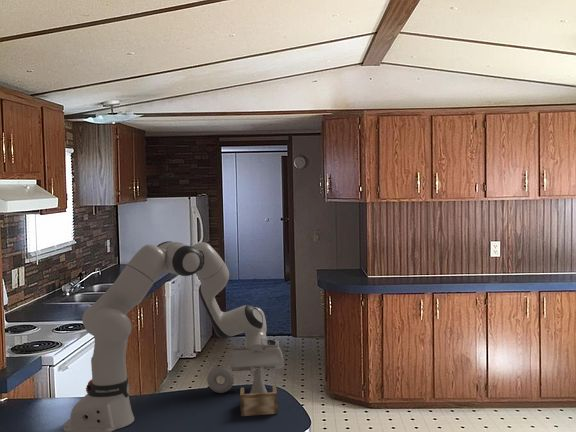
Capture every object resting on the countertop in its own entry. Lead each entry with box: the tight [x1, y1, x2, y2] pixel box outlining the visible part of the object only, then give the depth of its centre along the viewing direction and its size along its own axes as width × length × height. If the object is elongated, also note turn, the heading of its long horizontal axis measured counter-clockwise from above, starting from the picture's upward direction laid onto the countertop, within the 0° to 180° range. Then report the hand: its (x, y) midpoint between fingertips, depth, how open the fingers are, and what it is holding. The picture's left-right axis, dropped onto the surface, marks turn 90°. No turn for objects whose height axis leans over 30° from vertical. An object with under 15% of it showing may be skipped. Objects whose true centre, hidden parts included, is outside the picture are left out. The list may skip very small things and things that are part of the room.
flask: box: [249, 369, 268, 394], centre depth 227 cm, size 7×7×10 cm
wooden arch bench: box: [239, 384, 279, 417], centre depth 215 cm, size 12×11×7 cm
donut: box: [206, 365, 235, 394], centre depth 233 cm, size 10×3×10 cm, turn 85°
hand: (257, 379), depth 234 cm, fingers closed
